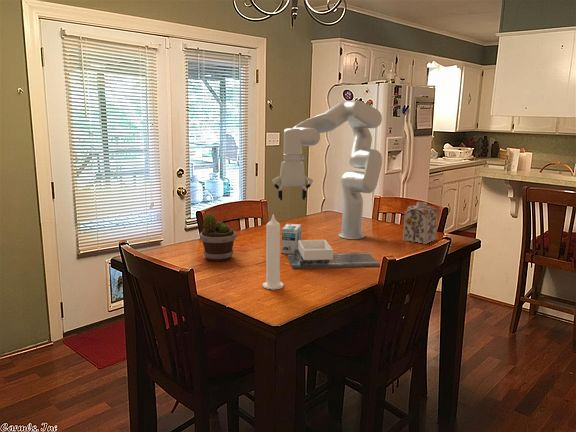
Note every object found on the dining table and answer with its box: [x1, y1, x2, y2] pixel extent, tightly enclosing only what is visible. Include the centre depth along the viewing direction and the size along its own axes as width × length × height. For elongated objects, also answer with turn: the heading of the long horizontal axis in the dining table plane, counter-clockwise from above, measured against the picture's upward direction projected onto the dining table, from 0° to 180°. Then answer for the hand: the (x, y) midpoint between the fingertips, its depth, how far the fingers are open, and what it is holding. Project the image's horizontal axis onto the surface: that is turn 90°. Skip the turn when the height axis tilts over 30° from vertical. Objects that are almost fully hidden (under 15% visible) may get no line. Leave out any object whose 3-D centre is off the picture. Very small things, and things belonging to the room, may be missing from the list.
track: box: [286, 250, 380, 270], centre depth 192 cm, size 16×34×3 cm, turn 97°
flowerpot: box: [199, 210, 238, 262], centre depth 194 cm, size 14×15×20 cm
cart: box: [298, 239, 334, 264], centre depth 191 cm, size 15×11×6 cm
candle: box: [262, 213, 284, 291], centre depth 162 cm, size 7×7×25 cm
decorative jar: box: [402, 201, 438, 245], centre depth 225 cm, size 12×12×18 cm
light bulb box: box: [281, 223, 302, 255], centre depth 206 cm, size 11×7×11 cm, turn 168°
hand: (292, 199), depth 203 cm, fingers open, 9 cm apart
